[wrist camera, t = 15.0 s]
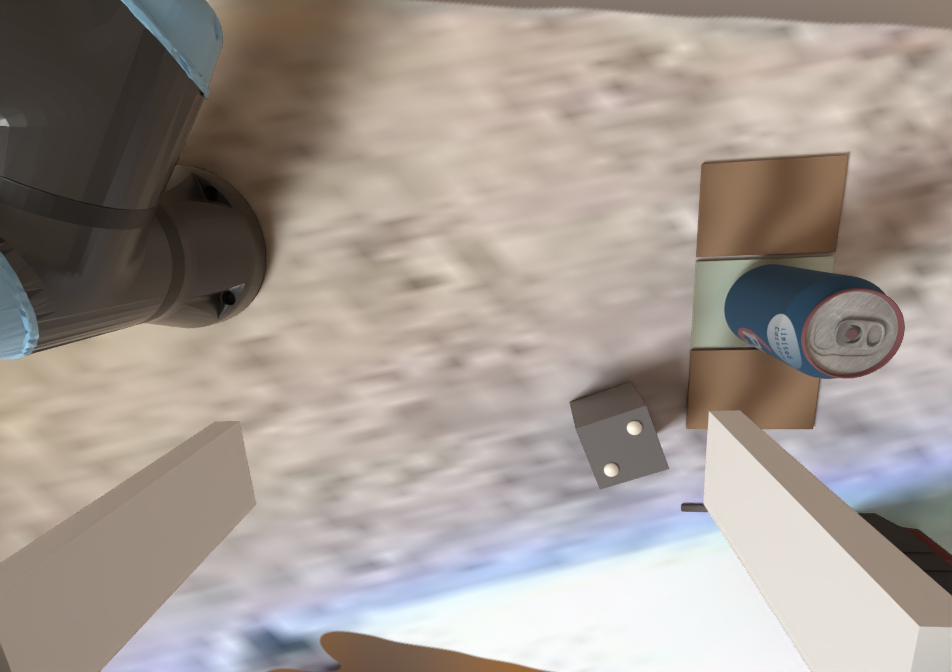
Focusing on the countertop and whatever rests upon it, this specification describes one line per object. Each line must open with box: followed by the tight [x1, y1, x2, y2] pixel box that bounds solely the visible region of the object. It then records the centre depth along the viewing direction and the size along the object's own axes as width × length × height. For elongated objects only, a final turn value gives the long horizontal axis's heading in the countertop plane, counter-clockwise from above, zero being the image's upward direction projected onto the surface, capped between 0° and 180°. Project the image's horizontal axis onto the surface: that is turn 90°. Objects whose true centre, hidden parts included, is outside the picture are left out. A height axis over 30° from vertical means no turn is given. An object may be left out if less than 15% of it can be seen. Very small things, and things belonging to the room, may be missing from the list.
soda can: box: [724, 264, 905, 379], centre depth 34 cm, size 7×7×12 cm
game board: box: [681, 155, 848, 512], centre depth 41 cm, size 11×32×1 cm, turn 3°
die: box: [570, 382, 669, 489], centre depth 41 cm, size 6×6×6 cm
